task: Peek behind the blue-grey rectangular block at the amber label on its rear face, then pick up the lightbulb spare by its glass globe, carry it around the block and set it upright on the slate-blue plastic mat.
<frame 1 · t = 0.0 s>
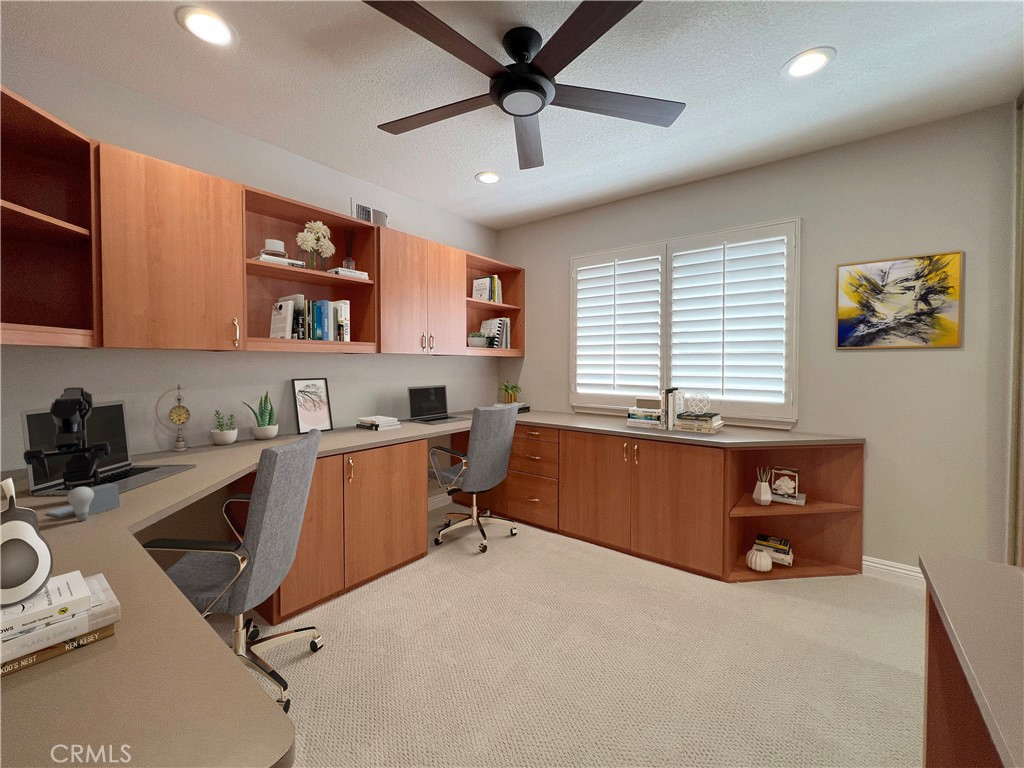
hand: (69, 477, 133), 15 cm above the table, tool tilted 35°, fingers open, 9 cm apart
blue-grey rectangular block: (97, 510, 146), on the table
lightbulb: (82, 521, 137), on the table
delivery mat: (71, 511, 146), on the table
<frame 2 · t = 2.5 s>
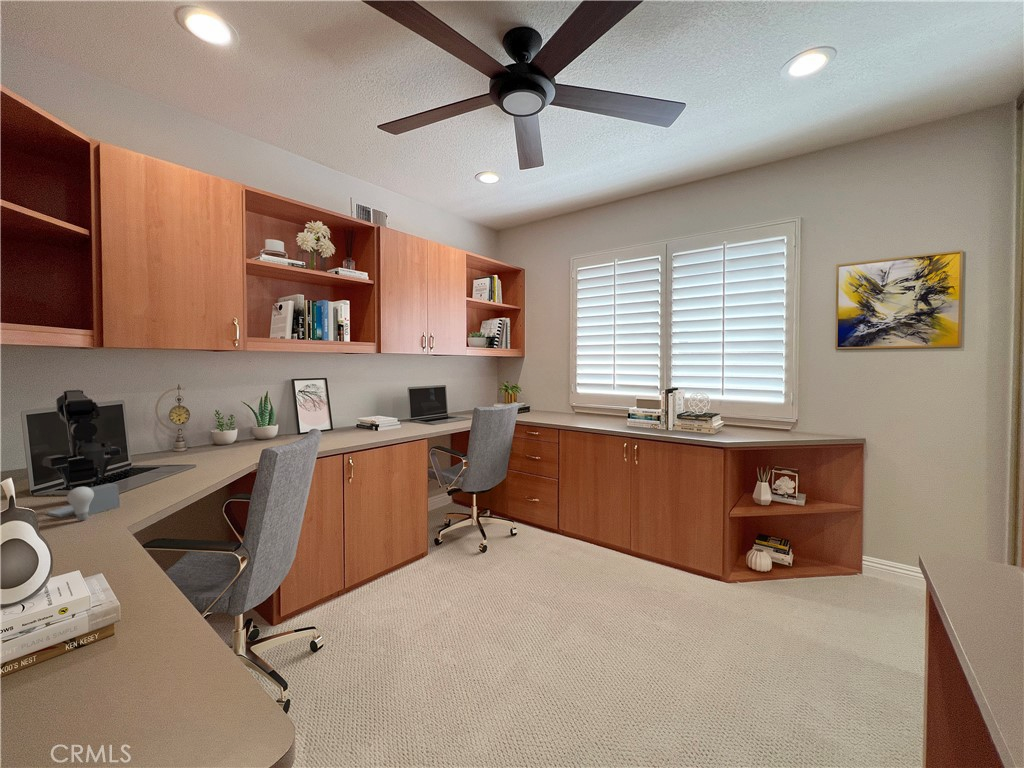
hand: (85, 480, 147), 10 cm above the table, tool pointing down, fingers open, 9 cm apart
nothing on the table moved.
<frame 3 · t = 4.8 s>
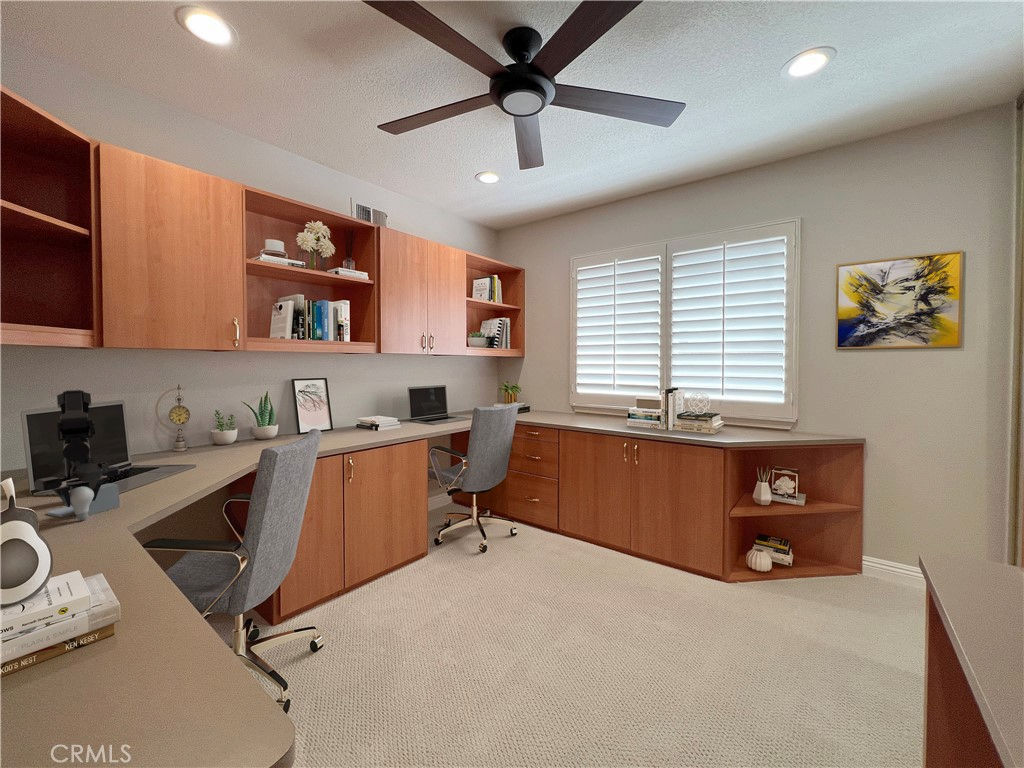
hand: (81, 503, 137), 6 cm above the table, tool pointing down, fingers closed on lightbulb, 6 cm apart
lightbulb: (82, 521, 137), on the table, touching gripper
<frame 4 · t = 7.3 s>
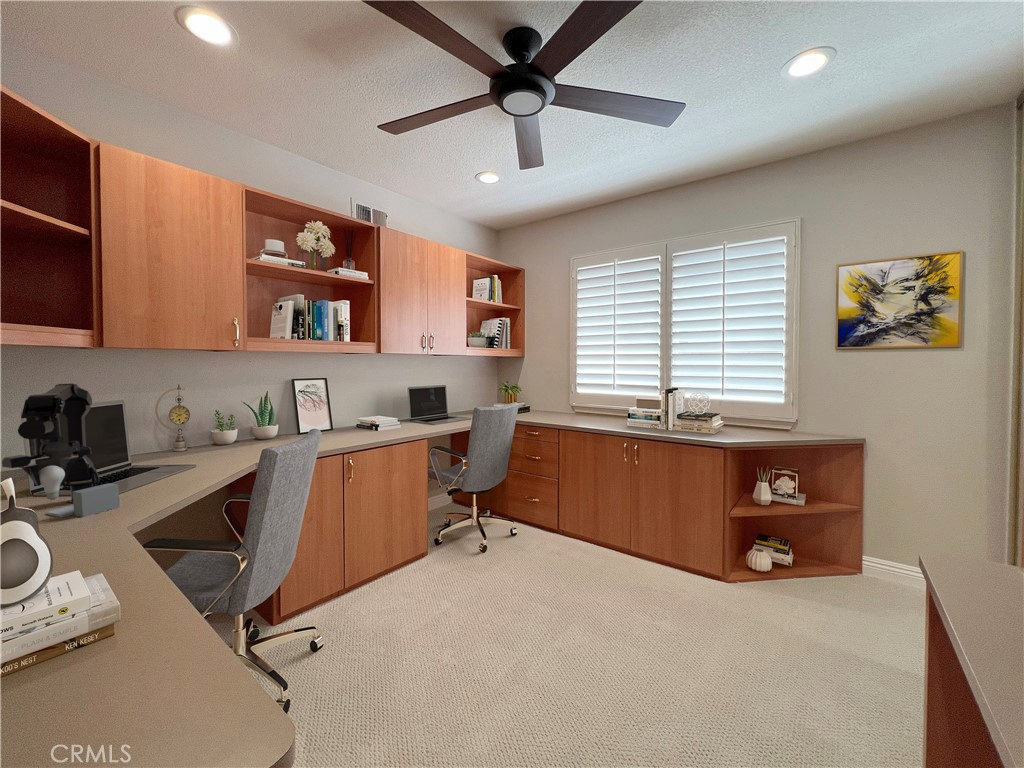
hand: (51, 482, 135), 13 cm above the table, tool pointing down, fingers closed on lightbulb, 6 cm apart
lightbulb: (53, 500, 136), point 7 cm above the table, touching gripper
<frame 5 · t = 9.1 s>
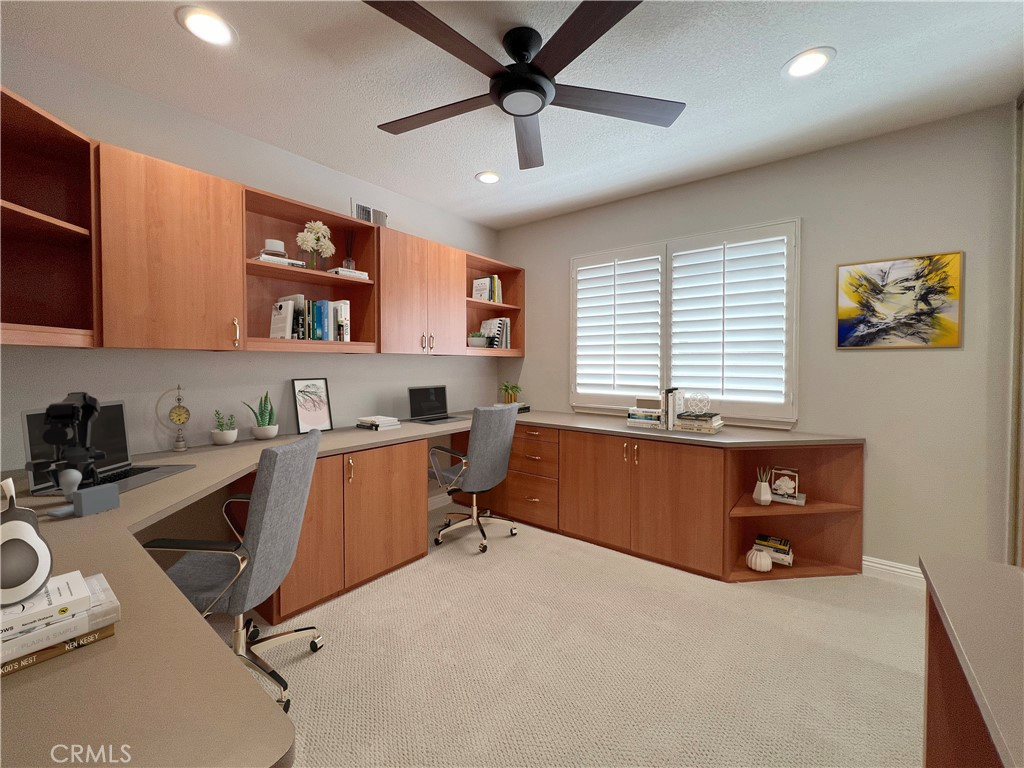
hand: (69, 485, 146), 9 cm above the table, tool pointing down, fingers closed on lightbulb, 6 cm apart
lightbulb: (70, 501, 146), point 3 cm above the table, touching gripper
when the fingers open (8 cm above the table, at t = 10.2 s): lightbulb drops 2 cm, resting on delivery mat.
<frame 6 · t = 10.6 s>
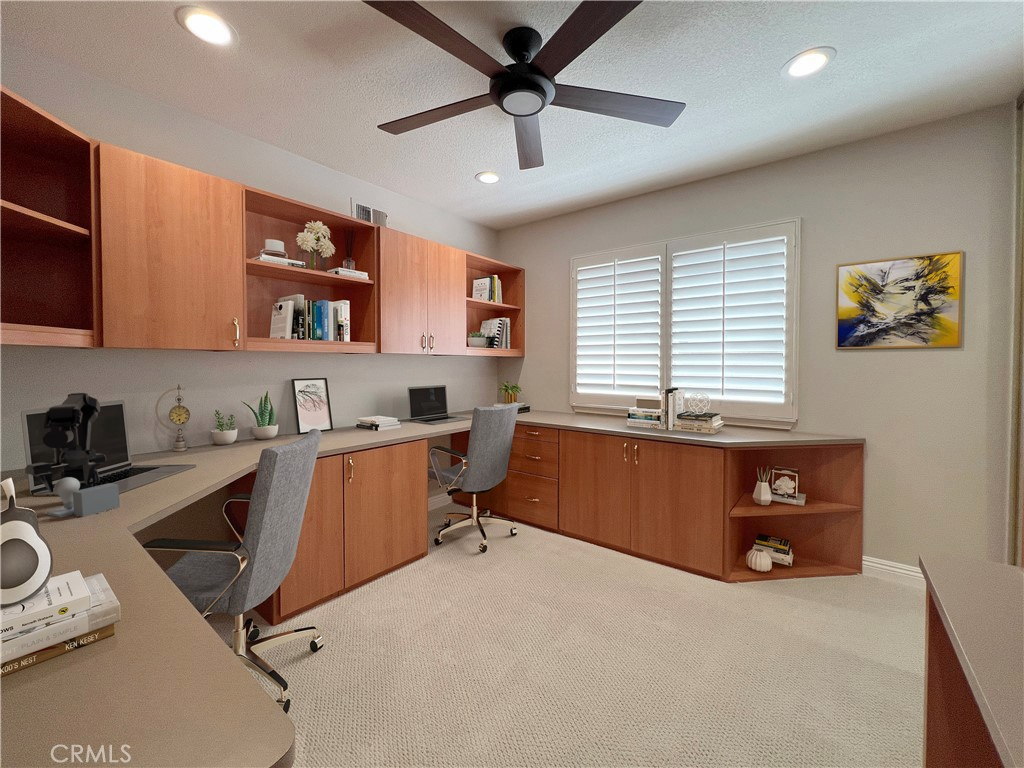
hand: (69, 488, 146), 8 cm above the table, tool pointing down, fingers open, 9 cm apart
lightbulb: (69, 509, 146), point 1 cm above the table, touching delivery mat
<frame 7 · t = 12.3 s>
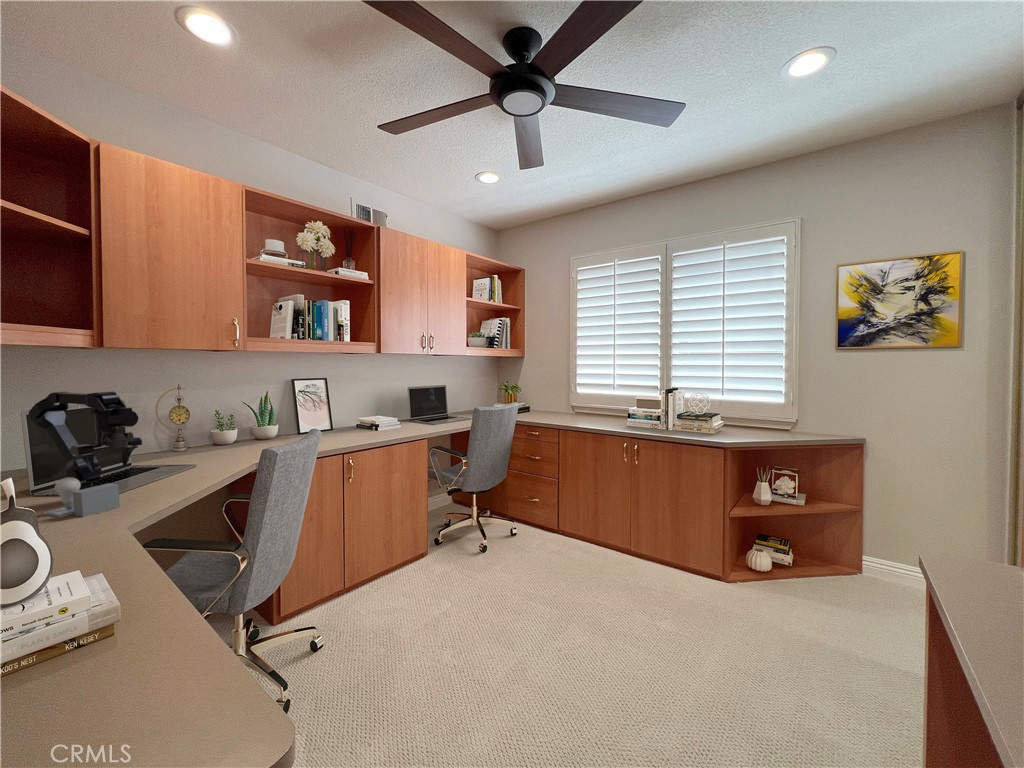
hand: (109, 469, 155), 12 cm above the table, tool pointing down, fingers open, 9 cm apart
nothing on the table moved.
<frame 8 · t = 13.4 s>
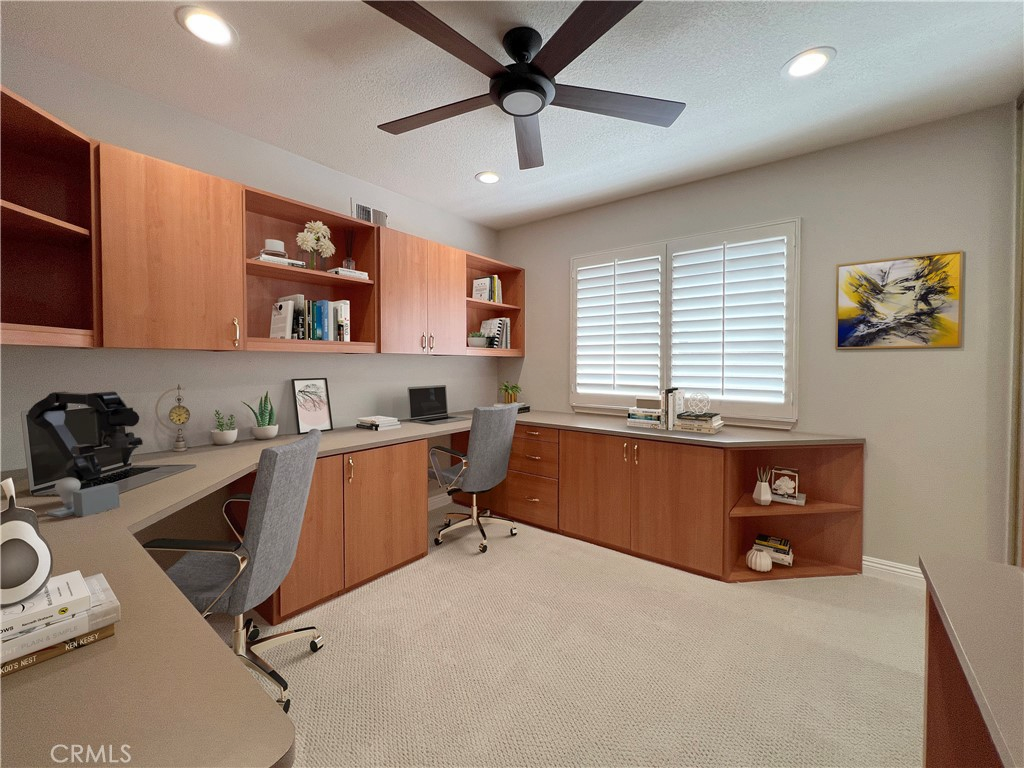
hand: (110, 468, 155), 12 cm above the table, tool pointing down, fingers open, 9 cm apart
nothing on the table moved.
at the end: lightbulb 0.4 cm off-centre on the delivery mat, point 0.6 cm above the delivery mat's base; lightbulb tilted 0°; the gripper is holding nothing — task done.
